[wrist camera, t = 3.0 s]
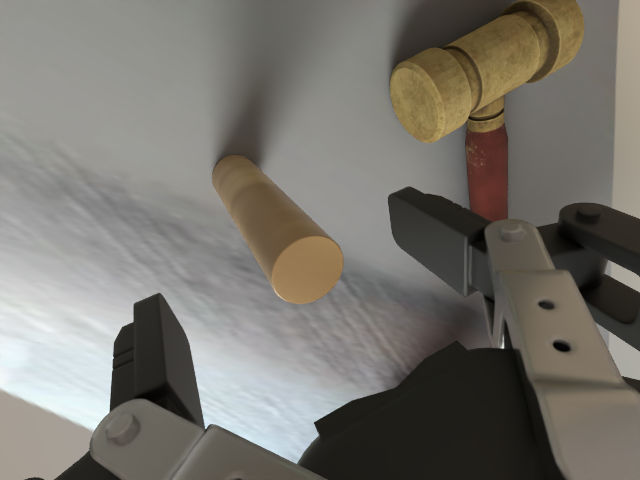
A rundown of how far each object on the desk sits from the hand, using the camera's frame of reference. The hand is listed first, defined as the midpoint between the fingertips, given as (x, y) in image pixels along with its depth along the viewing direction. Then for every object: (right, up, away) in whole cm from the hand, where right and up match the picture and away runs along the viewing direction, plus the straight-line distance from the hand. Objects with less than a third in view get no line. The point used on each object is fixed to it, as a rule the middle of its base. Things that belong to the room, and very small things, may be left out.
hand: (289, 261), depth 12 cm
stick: (-4, +4, +8) cm, 10 cm away
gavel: (+12, +6, +15) cm, 20 cm away
